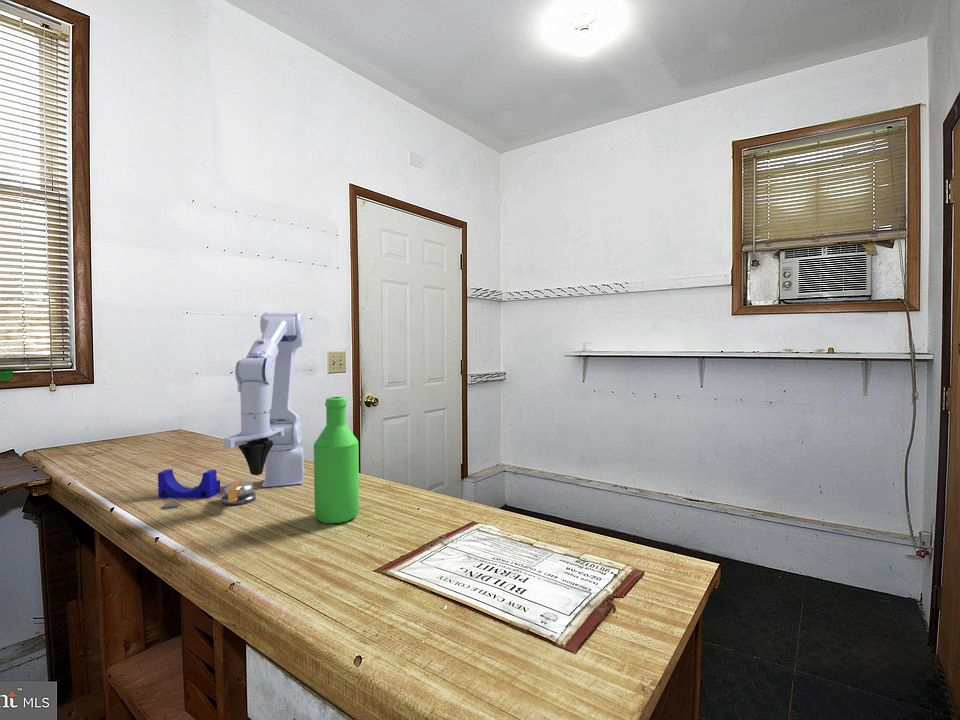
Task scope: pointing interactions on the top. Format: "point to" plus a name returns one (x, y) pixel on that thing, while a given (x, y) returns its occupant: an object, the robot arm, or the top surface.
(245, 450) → the robot arm
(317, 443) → the bottle
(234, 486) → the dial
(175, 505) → the grey block
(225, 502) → the dial housing
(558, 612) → the top surface
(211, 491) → the cable clip
